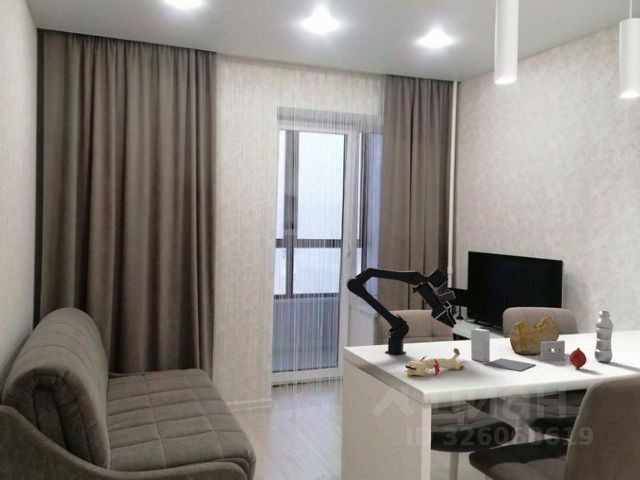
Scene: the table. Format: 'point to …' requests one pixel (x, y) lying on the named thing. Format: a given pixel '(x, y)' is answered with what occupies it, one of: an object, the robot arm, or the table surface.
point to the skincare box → (480, 345)
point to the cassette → (552, 355)
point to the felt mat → (510, 364)
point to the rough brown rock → (533, 335)
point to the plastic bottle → (603, 337)
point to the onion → (577, 358)
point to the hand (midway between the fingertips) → (454, 325)
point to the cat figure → (433, 365)
